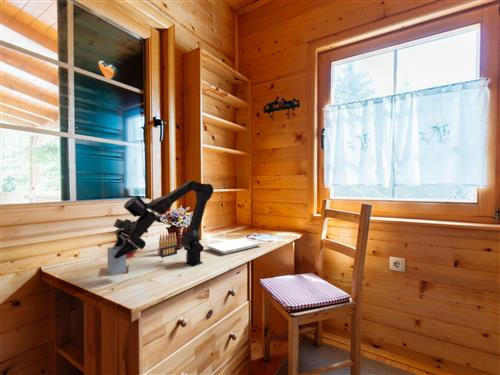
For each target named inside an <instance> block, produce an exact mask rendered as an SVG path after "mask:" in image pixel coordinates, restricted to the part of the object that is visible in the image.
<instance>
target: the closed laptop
mask: <svg viewBox="0 0 500 375" xmlns="http://www.w3.org/2000/svg"><path fill="white" fill-rule="evenodd" d="M262 244H263V241H260V240H256V239H252V238H248V237H240V238H235V239H231V240H225V241H220V242H215V243H209V244H206V245H205V247H207V248H208V249H209V250H212V252H213V251H214V252H215V253H218V254H220V255H227V254H232V253H236V252H240V251H245V250H248V249H253V248H257V247H258V246H260V245H262Z"/></svg>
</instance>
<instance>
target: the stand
mask: <svg viewBox="0 0 500 375" xmlns="http://www.w3.org/2000/svg"><path fill="white" fill-rule="evenodd" d="M129 268H130V265H129V264H126V272H123V273H118V274H114V275H113V276H117V275H126V274H129ZM109 276H112V275H111V274H110V273H109V272H108V267H102V268H100V269H99V272H98V275H97V278H101V277H109Z"/></svg>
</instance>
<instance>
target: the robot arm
mask: <svg viewBox="0 0 500 375" xmlns="http://www.w3.org/2000/svg"><path fill="white" fill-rule="evenodd" d="M214 189H215V188H213V185H212V184H211V183H203V182H202V183H201V182H197V181H195V180H187V181H185V183H183V184H181V185H180V186H178V187H177V188H176V189H173V190H172V191H170V192H169V193H168V194H166V195H162V196H159V197H157V198H154V199H152V200H151V201H149V202H147V203H146V202H145V201H144V199H142V197H141V196H139V195H135V196H134V197H131V198H130V199H129V200H127V201H126V202H125V203H124V205H123V208H124V209H125V210H126V211H128V213H130V214H131V215H132V216H133V217H134V218H135V217H136V218H137V217H138V218H137V219H136V220H130V219H126V218H125V219H124V220H123V219H119V218H117V219H116V220H115V222H114V224H113V227H115V228H117V229H116V230H115V231H114V234H115V239H116V242H115V244H114V245H113V247H117V246H122V247H121V248H120V249H119V251H118V252H117V253H116V255H115V256H114V257H115V258H116V259H117V258H119V257H121V256H123V255H125V254H127V253H129V252H131V251H133V250H136V249H137V250H138V248H137V246H138V247H139V249H140V250H143V249H145V247H146V241H145V240H144V239H142V236H143V235H144V234H147V233H148V232H149V228H150V227H151V226H152V225H153V224H154V223H155V222H156V223H161V222H162V221H161V215H163V214H165V213H166V212H167V211H168V210H169V209H171V207H172V205H173V204H174V203H175V202H176V201H178V200H179V199H181V198H183V197H184V196H186V195H187V194H188V193H189V192H191V191H192V192H195V198H196V202H195V205H194V209H193V213H192V216H191V219H190V223H189V227H188V229H187V230H186V231H182V236H181V238H180V244H181V245H182V247H183V248H184V250H185V251H186V256H185V259H186V260H185V261H186V262H185V261H184V263H183V264H184V265H187V266H191V267H195V266H198V265H201V264H203V263H204V262H203V261H202V260H201V253H202V252H203V251H204V249H205V248H204V245H202V243H201V242H200V239H201V236H200V228H201V223H202V220H203V216H204V213H205V210H206V206H207V202H209V200H210V199H211V198H212V196H213V193H214ZM149 210H150V211H149ZM157 214H161V215H157ZM137 250H136V251H137Z"/></svg>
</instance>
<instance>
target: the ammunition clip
mask: <svg viewBox="0 0 500 375" xmlns="http://www.w3.org/2000/svg"><path fill="white" fill-rule="evenodd" d="M162 234H163V235H162ZM162 234H160V235H159V241H158V250H157V251H158V253H157V254H158V255H157V256H159V257H160V259H163V258H166V257H170V256H174V255H177V254H178V244H177V235H176V234H177V233H176V232H175V231H174V232H171V233H170V232H168V233H165V234H164V233H162Z"/></svg>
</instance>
